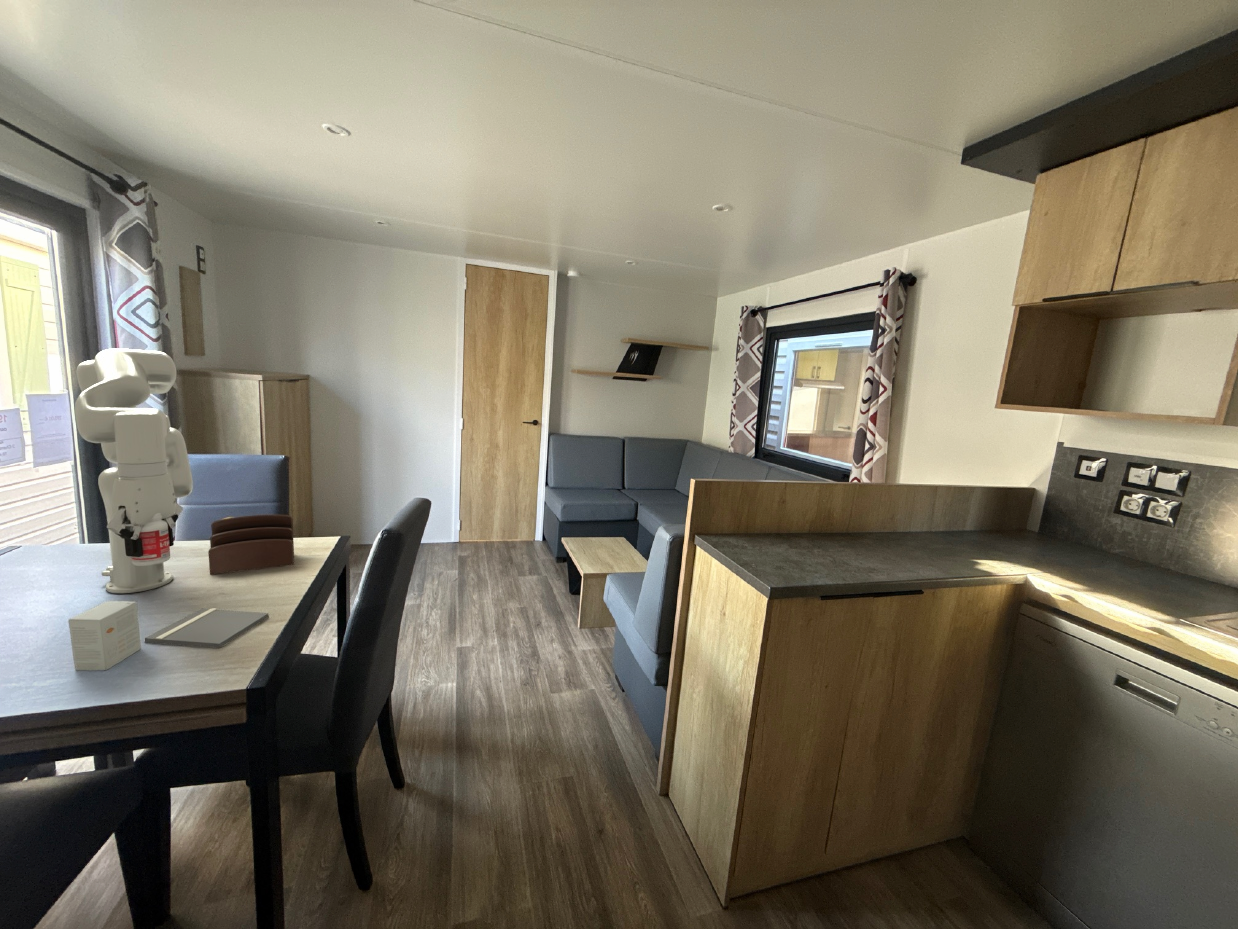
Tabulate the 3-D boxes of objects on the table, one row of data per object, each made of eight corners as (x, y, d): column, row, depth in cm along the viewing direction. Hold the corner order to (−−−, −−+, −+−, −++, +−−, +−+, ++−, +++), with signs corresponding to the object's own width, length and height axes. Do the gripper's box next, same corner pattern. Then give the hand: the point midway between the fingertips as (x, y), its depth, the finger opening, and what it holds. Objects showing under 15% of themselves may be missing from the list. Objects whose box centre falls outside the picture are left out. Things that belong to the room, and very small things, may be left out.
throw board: (144, 642, 103) (144, 637, 103) (202, 612, 117) (201, 607, 117) (219, 648, 103) (219, 642, 103) (268, 617, 117) (268, 612, 117)
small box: (112, 648, 100) (107, 600, 99) (142, 649, 101) (137, 600, 99) (73, 671, 93) (66, 619, 91) (105, 671, 93) (99, 619, 91)
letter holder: (214, 563, 146) (210, 517, 143) (294, 554, 156) (292, 511, 154) (209, 575, 137) (206, 527, 135) (294, 565, 148) (292, 520, 146)
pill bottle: (167, 564, 107) (163, 515, 105) (128, 568, 104) (123, 517, 102) (173, 555, 112) (169, 508, 110) (136, 559, 109) (131, 510, 107)
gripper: (164, 462, 113) (170, 537, 116) (80, 475, 96) (90, 563, 99) (196, 464, 113) (202, 539, 116) (118, 478, 96) (126, 566, 99)
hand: (150, 550), depth 107 cm, fingers closed on pill bottle, 6 cm apart
